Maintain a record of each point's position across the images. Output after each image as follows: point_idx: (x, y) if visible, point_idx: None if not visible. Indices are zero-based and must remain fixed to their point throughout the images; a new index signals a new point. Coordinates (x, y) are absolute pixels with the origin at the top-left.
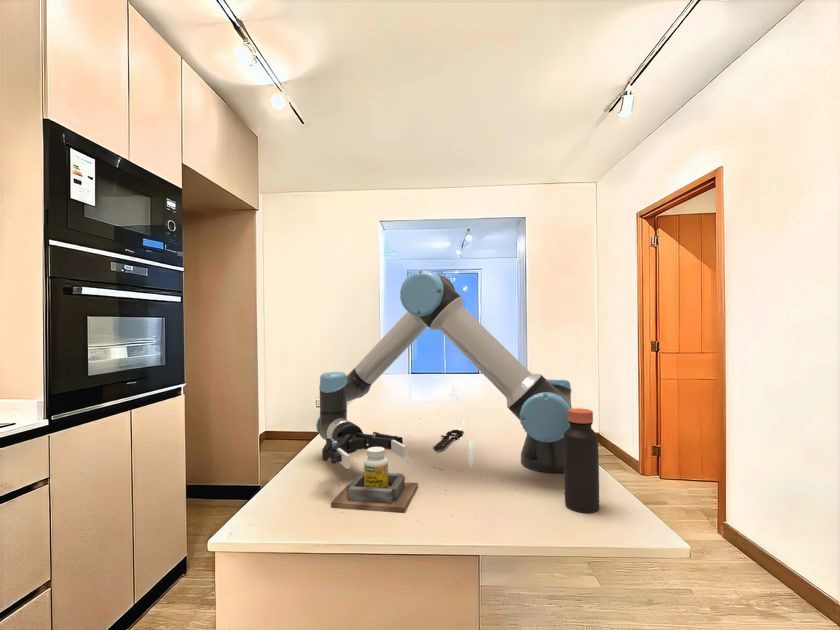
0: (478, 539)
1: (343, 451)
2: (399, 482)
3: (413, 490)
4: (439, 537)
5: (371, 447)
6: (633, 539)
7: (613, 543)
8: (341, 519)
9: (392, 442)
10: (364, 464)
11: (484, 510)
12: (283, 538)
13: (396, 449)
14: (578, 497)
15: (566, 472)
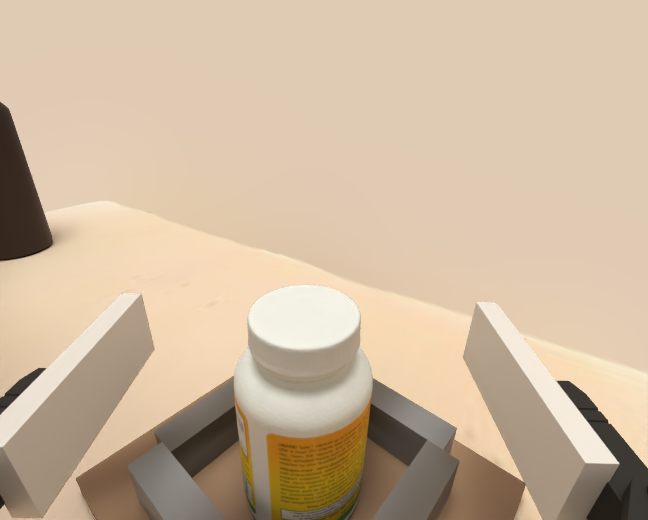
0: (249, 254)
1: (529, 371)
2: (232, 383)
3: (172, 416)
4: (295, 272)
5: (311, 344)
6: (112, 211)
7: (137, 213)
8: (471, 393)
9: (32, 431)
10: (372, 385)
11: (142, 292)
12: (628, 376)
13: (96, 396)
14: (45, 219)
15: (15, 189)
